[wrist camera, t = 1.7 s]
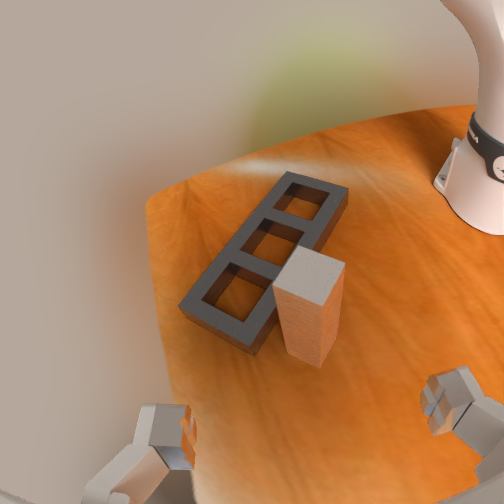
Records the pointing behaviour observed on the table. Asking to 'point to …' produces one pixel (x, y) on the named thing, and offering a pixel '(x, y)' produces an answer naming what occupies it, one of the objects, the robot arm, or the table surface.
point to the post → (309, 304)
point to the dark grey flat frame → (258, 270)
